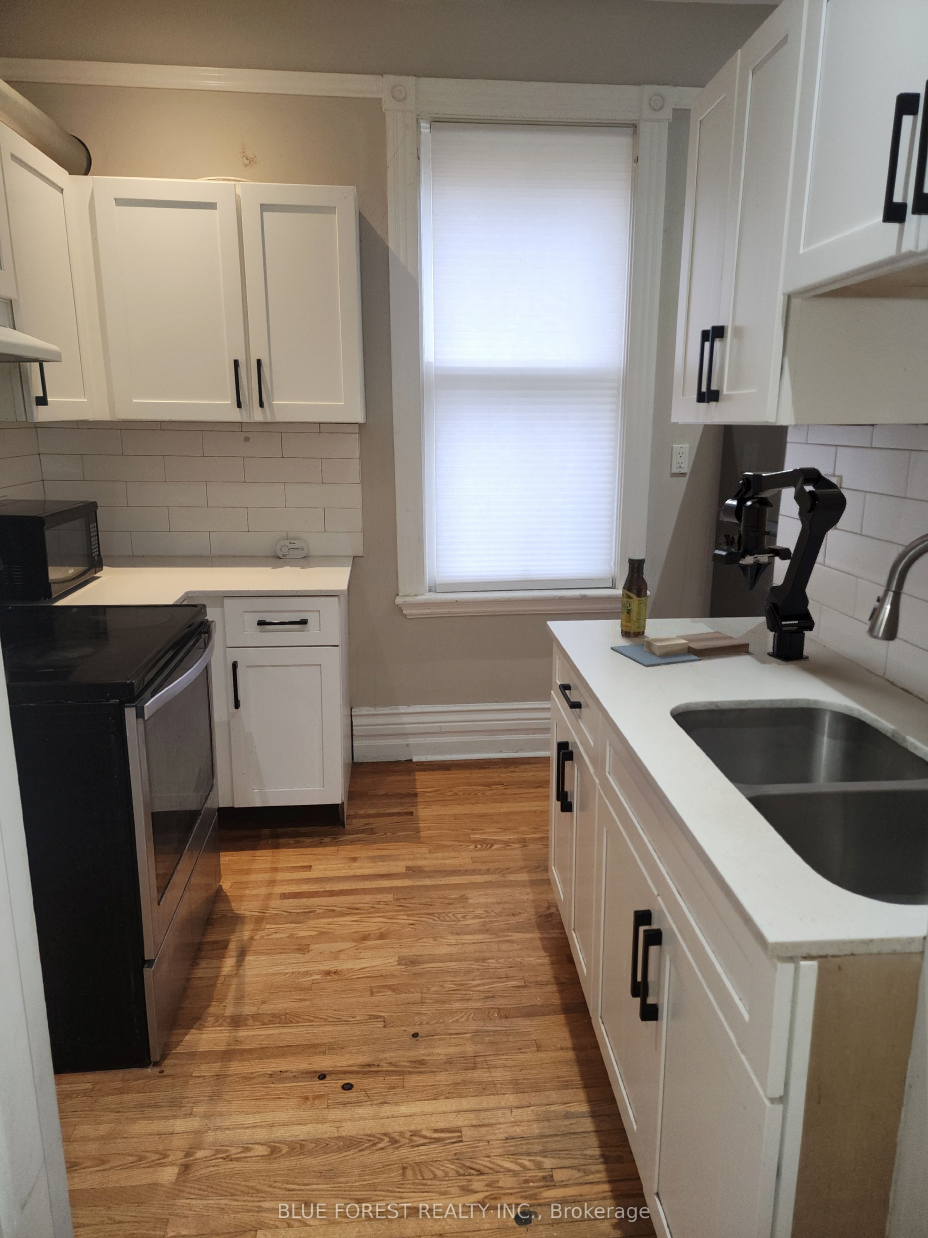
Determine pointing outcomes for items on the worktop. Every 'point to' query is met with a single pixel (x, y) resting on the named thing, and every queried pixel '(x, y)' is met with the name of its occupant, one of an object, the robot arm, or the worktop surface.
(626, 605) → the sauce bottle
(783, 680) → the worktop surface
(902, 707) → the worktop surface
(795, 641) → the robot arm
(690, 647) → the walnut board
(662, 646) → the beech tile
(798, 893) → the worktop surface
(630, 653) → the rubber mat
